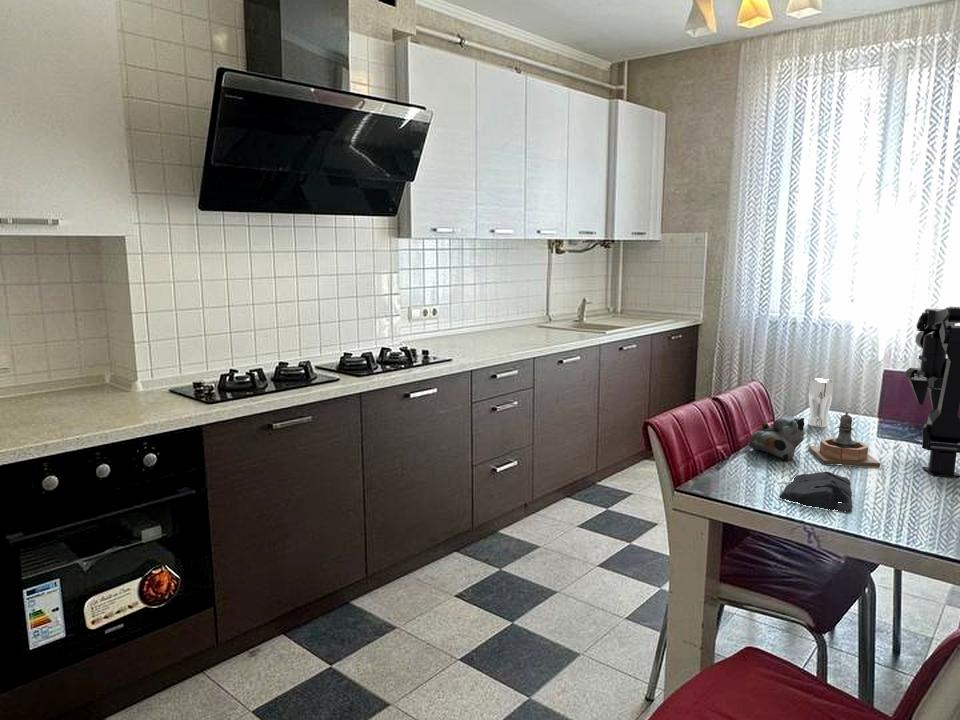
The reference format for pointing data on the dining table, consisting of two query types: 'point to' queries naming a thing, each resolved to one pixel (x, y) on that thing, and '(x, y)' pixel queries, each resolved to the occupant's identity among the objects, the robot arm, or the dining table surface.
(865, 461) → the collar board
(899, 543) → the dining table surface
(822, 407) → the beer glass
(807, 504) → the dark slate chunk
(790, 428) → the lucky cat figurine
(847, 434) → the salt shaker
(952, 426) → the robot arm
